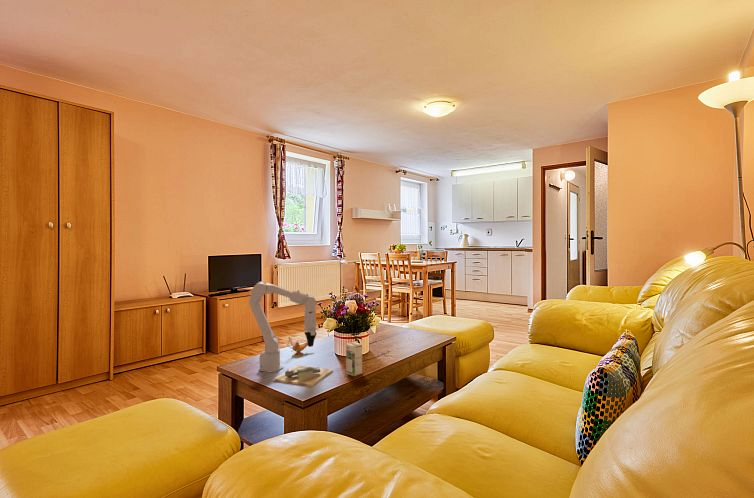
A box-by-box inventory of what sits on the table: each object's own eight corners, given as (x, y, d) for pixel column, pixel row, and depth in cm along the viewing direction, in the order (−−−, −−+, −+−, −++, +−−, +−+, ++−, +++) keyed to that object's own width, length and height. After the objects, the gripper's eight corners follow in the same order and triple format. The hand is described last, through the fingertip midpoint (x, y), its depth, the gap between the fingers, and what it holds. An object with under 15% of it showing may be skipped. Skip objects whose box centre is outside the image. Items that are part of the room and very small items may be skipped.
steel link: (285, 377, 169) (285, 372, 169) (284, 374, 173) (284, 369, 173) (320, 372, 175) (320, 367, 175) (318, 369, 179) (318, 365, 179)
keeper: (298, 379, 169) (298, 370, 169) (297, 376, 173) (297, 368, 173) (312, 377, 172) (312, 369, 172) (311, 374, 175) (311, 366, 175)
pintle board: (273, 381, 170) (273, 376, 170) (297, 367, 189) (297, 363, 189) (311, 386, 163) (311, 382, 163) (332, 371, 182) (332, 367, 182)
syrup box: (345, 373, 179) (345, 343, 179) (354, 370, 183) (354, 341, 183) (353, 376, 175) (353, 346, 175) (362, 373, 179) (362, 343, 179)
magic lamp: (317, 351, 217) (317, 332, 217) (291, 358, 204) (290, 338, 203) (310, 349, 221) (310, 330, 221) (284, 355, 208) (283, 336, 208)
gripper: (321, 321, 184) (321, 349, 184) (315, 316, 198) (315, 342, 198) (306, 323, 181) (307, 350, 182) (301, 317, 195) (302, 343, 195)
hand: (310, 346), depth 190 cm, fingers closed
